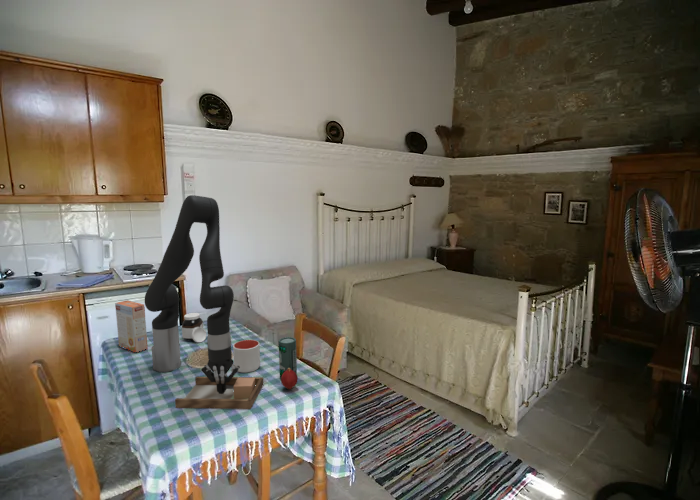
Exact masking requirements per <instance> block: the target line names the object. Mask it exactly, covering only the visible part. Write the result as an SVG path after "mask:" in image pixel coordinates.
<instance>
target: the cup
mask: <svg viewBox="0 0 700 500" xmlns="http://www.w3.org/2000/svg"><path fill="white" fill-rule="evenodd" d="M260 349H261V348H260V341H257V340H255V339H244V340H240V341H236V342H235V343H234V344H233V345H232V350H233V351H232V352H233V364H234V365H236V366H239V367H240V368H239V370H238V371H237V373H243V374H246V373H252V372H254V371H257V370H258V369H259V368H260V367H261V354H260V353H261V350H260Z"/></svg>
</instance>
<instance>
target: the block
mask: <svg viewBox="0 0 700 500" xmlns="http://www.w3.org/2000/svg"><path fill="white" fill-rule="evenodd" d="M233 387H234V399H249V397H250V395H251V393H252V392H253V390H254V388H255V378H238V379H237V381H236V382H235V384H234V386H233Z"/></svg>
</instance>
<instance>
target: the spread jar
mask: <svg viewBox="0 0 700 500" xmlns="http://www.w3.org/2000/svg"><path fill="white" fill-rule="evenodd" d="M200 315H201V314H200V313H198V312H190V313H186V314H185V315H184V316H183V318H184V320H183V321H182V325H181V335H182V339H183V340H184V341H187V342H195V343H201V342H202V343H203V342H204V341H205V340H206V338H207V330H205V327H204V321H203V319H202V318H201V316H200Z"/></svg>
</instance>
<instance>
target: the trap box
mask: <svg viewBox="0 0 700 500" xmlns="http://www.w3.org/2000/svg"><path fill="white" fill-rule="evenodd" d="M238 378H255V385H256V386H255V388H254V390H253V392H252V393H251V395H250V397H249V399H234V392H233V389H234V387H233V386H234V384H235V382H236V381H237V379H238ZM263 383H264V377H261V376H258V377H257V376H256V377H255V376H254V377H253V376H251V377H249V376H248V377H247V376H246V377H245V376H233V377H232V379H231V380H230V381H229V382H226V388H227V389H226V391H225V392H224V393H223V394H219V392H217V384H216V383H215V382H211V381H210V380H209V379H208V378H207V376H196V377H195V385H194V386H193V387H192V389H191V390H190V391H189V392H188V393H187V394H186V395H185V397H184V398H181V397H180V398H179V397H178V398H175V400H174V403H175V405H174V407H175V409H221V410H222V409H223V410H224V409H227V410H233V409H234V410H251V409H252V407H253V405H254V403H255V402H256V400H257V398H258V396H259V394H260V392H261V390H262V388H263V387H262V385H263ZM263 386H264V385H263Z"/></svg>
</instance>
